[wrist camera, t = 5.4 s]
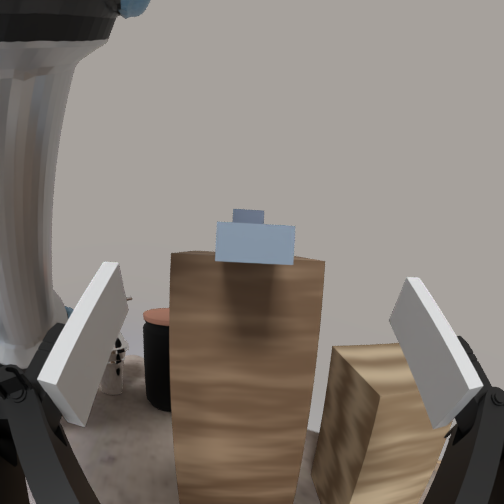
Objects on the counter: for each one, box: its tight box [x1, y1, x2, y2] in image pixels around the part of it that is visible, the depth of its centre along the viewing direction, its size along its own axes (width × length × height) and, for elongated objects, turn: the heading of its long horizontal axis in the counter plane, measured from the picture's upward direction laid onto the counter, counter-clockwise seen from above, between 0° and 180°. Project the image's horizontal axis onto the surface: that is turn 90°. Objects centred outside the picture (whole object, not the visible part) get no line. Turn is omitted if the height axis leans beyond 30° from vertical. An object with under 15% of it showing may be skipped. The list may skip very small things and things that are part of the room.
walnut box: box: [169, 251, 325, 504], centre depth 31 cm, size 14×12×30 cm
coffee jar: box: [143, 308, 171, 412], centre depth 55 cm, size 11×11×18 cm
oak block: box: [311, 343, 452, 504], centre depth 28 cm, size 14×9×20 cm, turn 3°
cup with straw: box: [100, 297, 132, 395], centre depth 55 cm, size 8×9×20 cm
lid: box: [215, 209, 295, 265], centre depth 26 cm, size 20×4×4 cm, turn 3°
